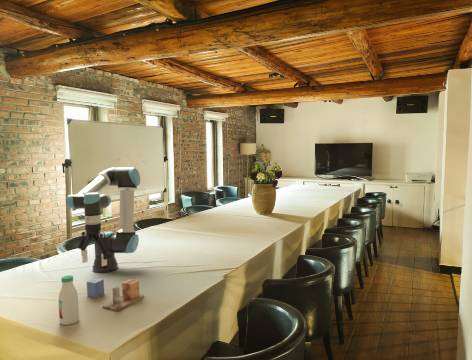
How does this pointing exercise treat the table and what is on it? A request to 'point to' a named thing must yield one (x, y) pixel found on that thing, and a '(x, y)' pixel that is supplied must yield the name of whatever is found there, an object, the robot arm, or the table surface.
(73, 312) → the milk bottle
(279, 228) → the table surface
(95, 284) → the slate blue cube
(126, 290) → the organizer
